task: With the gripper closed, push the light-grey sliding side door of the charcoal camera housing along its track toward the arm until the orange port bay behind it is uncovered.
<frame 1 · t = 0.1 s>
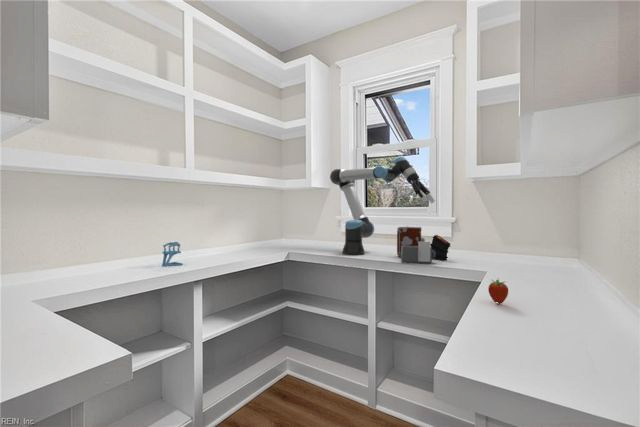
hand: (429, 201, 197), 36 cm above the countertop, tool tilted 35°, fingers open, 13 cm apart
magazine: (439, 260, 192), on the countertop
cine camera: (412, 257, 203), on the countertop
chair: (171, 265, 160), on the countertop
fruit: (498, 304, 97), on the countertop
side door: (424, 251, 174), point 7 cm above the countertop, slide at 0.0 cm
camera housing: (415, 262, 181), on the countertop
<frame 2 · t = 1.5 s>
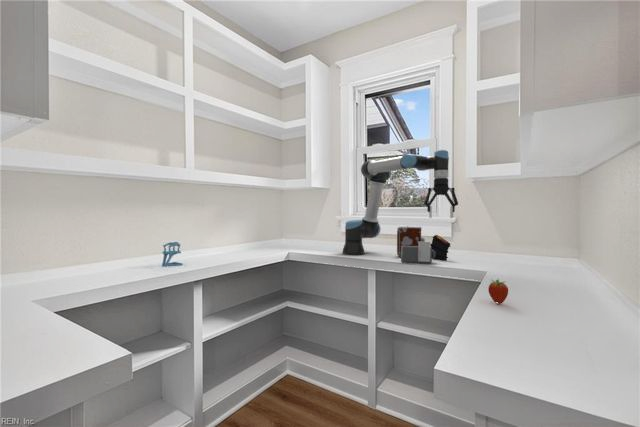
hand: (440, 217, 173), 26 cm above the countertop, tool pointing down, fingers open, 10 cm apart
nothing on the countertop moved.
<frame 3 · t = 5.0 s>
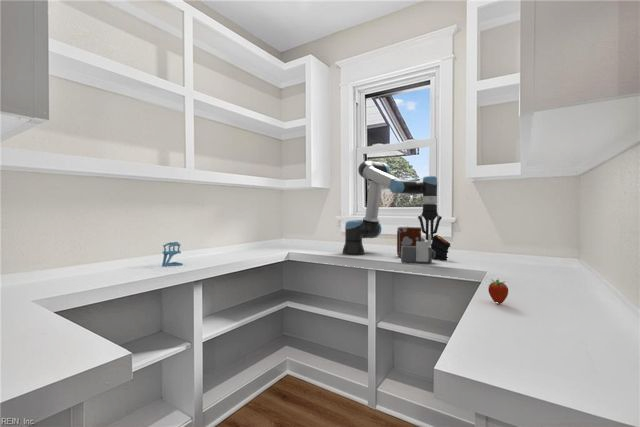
hand: (429, 245, 174), 10 cm above the countertop, tool pointing down, fingers closed
side door: (422, 251, 175), point 7 cm above the countertop, slide at 1.2 cm, touching gripper
everything else where it was.
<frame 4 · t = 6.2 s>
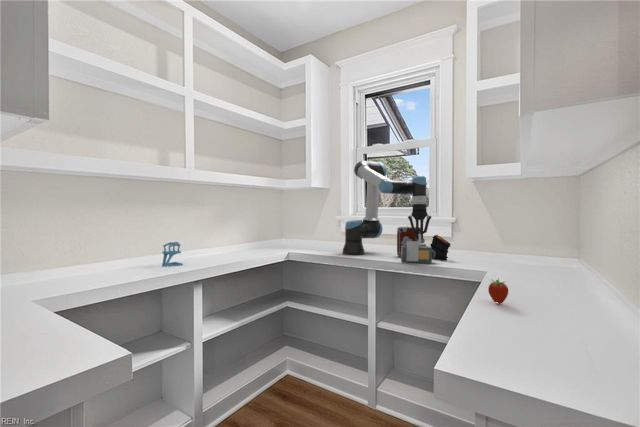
hand: (419, 245, 175), 10 cm above the countertop, tool pointing down, fingers closed
side door: (412, 251, 176), point 7 cm above the countertop, slide at 6.4 cm, touching gripper
everything else where it was.
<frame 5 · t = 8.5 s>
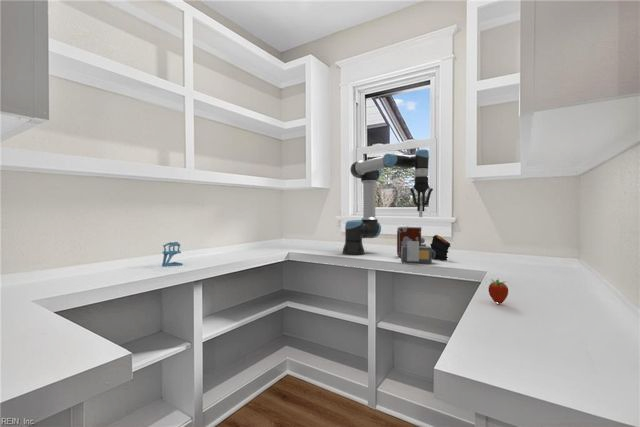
hand: (420, 217, 181), 26 cm above the countertop, tool pointing down, fingers closed
side door: (413, 251, 176), point 7 cm above the countertop, slide at 6.0 cm
everything else where it was.
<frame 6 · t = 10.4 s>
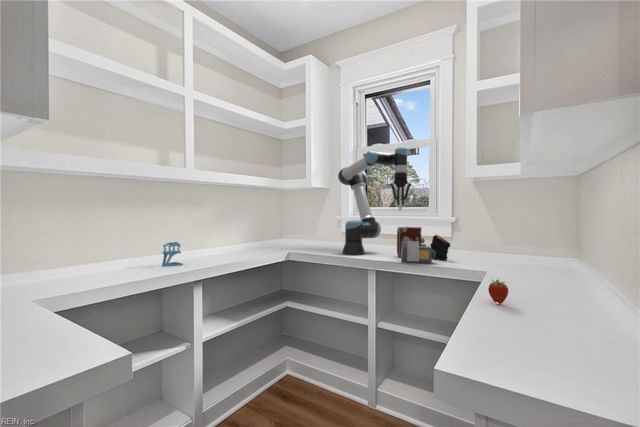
hand: (400, 210, 195), 30 cm above the countertop, tool pointing down, fingers closed
nothing on the countertop moved.
at the end: side door slide at 6.0 cm; side door touching nothing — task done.
